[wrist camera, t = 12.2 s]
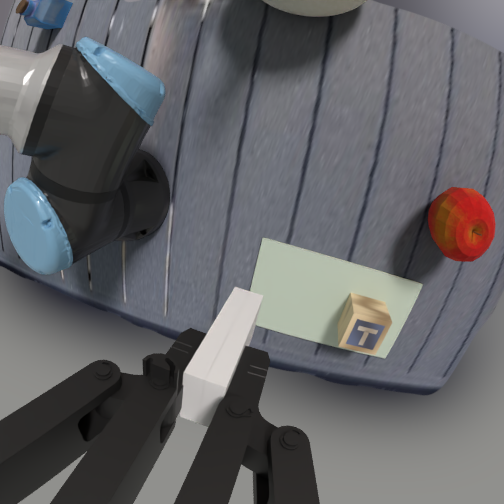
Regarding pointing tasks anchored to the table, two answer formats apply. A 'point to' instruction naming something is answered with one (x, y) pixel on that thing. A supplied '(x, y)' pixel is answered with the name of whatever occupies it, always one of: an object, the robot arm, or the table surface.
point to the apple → (461, 223)
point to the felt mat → (323, 293)
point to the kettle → (315, 6)
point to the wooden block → (363, 324)
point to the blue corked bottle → (44, 12)
